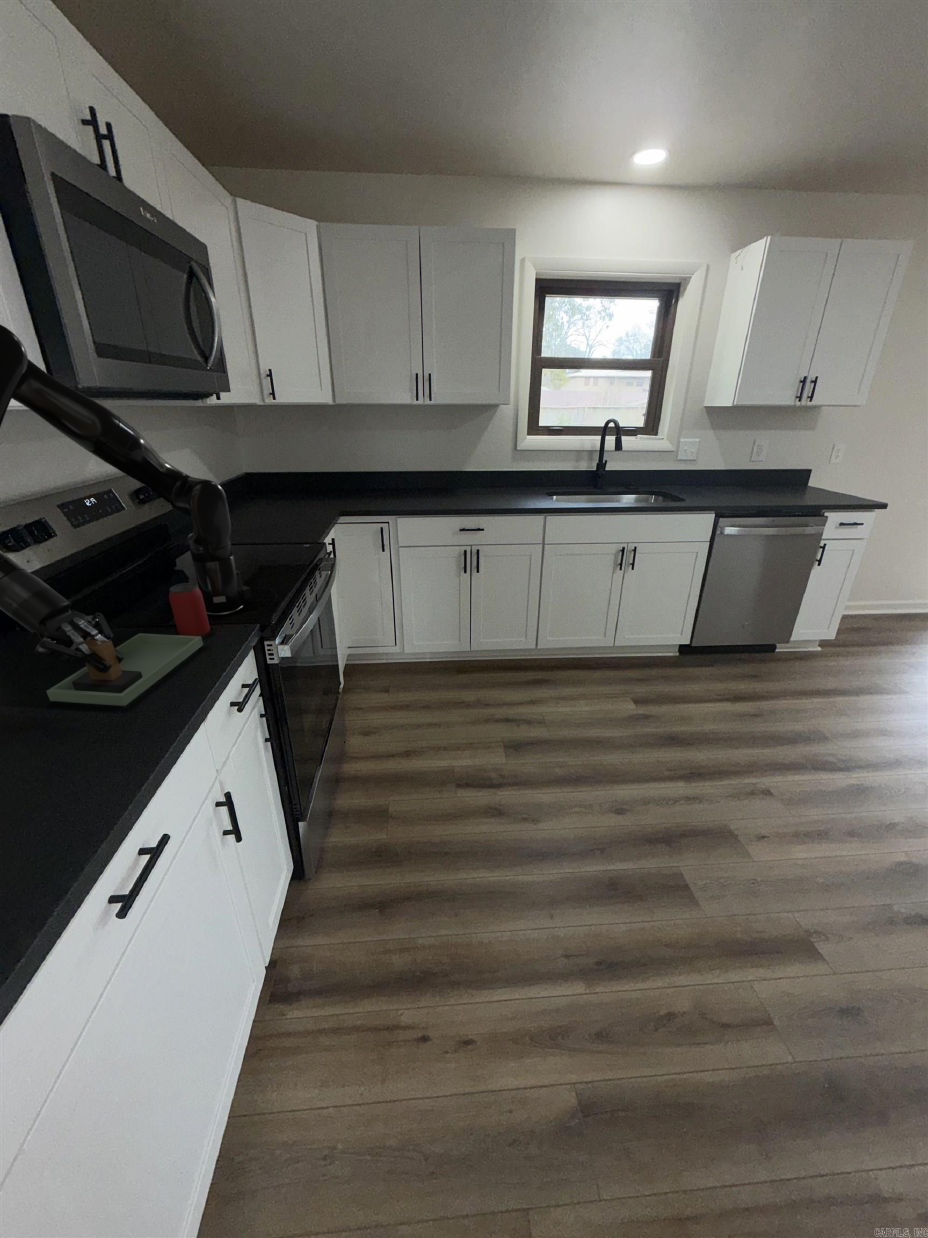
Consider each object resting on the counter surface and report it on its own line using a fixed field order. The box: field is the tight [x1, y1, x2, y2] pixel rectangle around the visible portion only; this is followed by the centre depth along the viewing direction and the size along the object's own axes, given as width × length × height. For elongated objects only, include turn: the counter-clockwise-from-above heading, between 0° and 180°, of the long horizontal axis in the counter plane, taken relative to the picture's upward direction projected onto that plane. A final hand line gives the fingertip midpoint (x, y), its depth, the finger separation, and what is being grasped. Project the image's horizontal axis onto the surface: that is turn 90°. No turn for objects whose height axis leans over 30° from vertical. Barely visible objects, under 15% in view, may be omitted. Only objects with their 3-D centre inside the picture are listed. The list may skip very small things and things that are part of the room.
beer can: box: [168, 582, 211, 637], centre depth 113 cm, size 7×7×12 cm
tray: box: [46, 632, 204, 707], centre depth 99 cm, size 24×15×3 cm, turn 174°
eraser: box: [72, 640, 143, 694], centre depth 91 cm, size 10×5×9 cm, turn 84°
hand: (114, 665), depth 91 cm, fingers closed on eraser, 2 cm apart
